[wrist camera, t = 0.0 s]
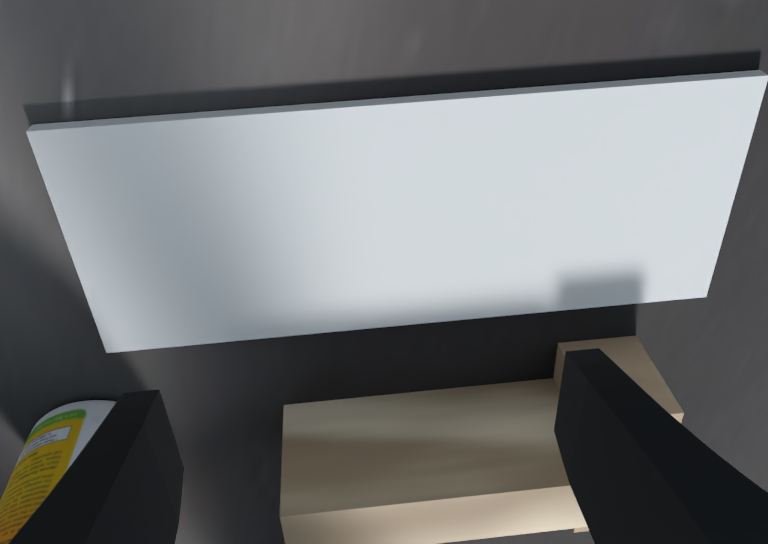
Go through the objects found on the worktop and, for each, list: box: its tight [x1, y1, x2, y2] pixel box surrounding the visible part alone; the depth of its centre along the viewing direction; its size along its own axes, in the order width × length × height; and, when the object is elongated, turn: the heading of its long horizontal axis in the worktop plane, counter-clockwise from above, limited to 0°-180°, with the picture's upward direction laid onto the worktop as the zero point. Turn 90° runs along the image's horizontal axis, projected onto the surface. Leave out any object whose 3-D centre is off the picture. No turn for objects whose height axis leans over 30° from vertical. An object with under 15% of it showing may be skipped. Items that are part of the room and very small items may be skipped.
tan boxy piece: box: [280, 336, 684, 544], centre depth 25 cm, size 6×14×5 cm, turn 92°
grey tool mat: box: [26, 70, 768, 353], centre depth 22 cm, size 8×21×1 cm, turn 92°
